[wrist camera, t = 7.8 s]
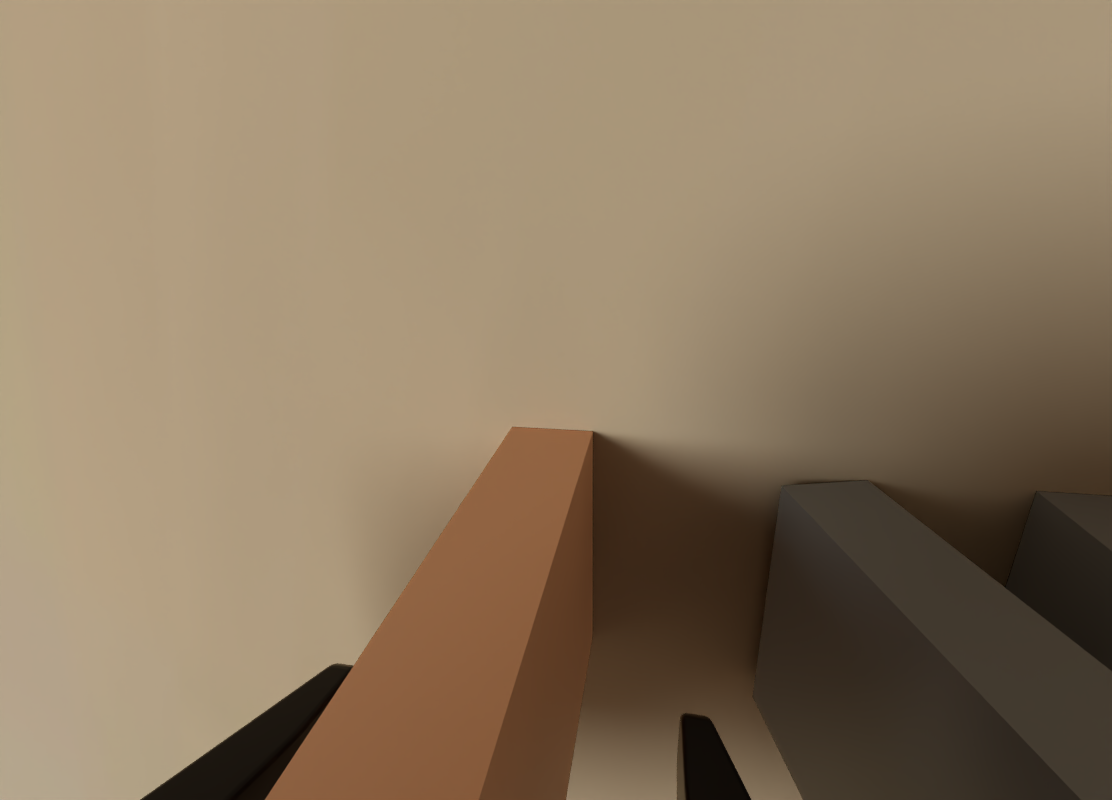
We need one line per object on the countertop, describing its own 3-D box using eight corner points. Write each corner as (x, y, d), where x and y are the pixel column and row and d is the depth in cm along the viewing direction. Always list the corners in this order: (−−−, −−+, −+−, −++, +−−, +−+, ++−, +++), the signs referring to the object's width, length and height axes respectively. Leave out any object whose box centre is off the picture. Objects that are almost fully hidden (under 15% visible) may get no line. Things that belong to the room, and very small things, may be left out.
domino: (523, 627, 13) (244, 1478, 4) (511, 426, 11) (1, 1198, 2) (592, 636, 12) (438, 1564, 4) (592, 431, 10) (316, 1325, 2)
